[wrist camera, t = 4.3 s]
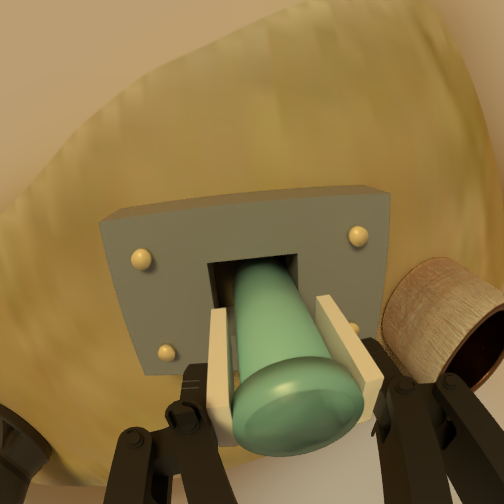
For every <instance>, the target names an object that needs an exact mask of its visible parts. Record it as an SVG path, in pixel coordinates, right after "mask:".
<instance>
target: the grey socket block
mask: <svg viewBox="0 0 504 504" xmlns="http://www.w3.org/2000/svg"><path fill="white" fill-rule="evenodd" d="M389 222H390V193H388V192H384V191H381V190H378V189H374V188H371V187H368V186H364V185H355V186H331V187H312V188H297V189H283V190H270V191H258V192H248V193H237V194H228V195H218V196H209V197H201V198H193V199H185V200H177V201H170V202H163V203H156V204H149V205H143V206H136V207H130V208H124V209H120V210H118V211H116V212H115V213H113V214H111V215H110V216H108V217H106V218H105V219H103V220H101V221H100V222H99V227H100V232H101V236H102V241H103V245H104V249H105V254H106V258H107V262H108V266H109V270H110V273H111V277H112V281H113V284H114V288H115V291H116V295H117V298H118V301H119V304H120V308H121V311H122V314H123V317H124V320H125V323H126V326H127V329H128V332H129V335H130V337H131V340H132V343H133V346H134V348H135V351H136V354H137V356H138V359H139V361H140V364H141V366H142V369H143V371H144V374H145V375H183V374H184V371H185V369H186V368H187V367H188V365H189V364H196V363H208V355H209V337H210V321H211V309H219V308H226V312H227V319H228V325H229V332H230V338H231V345H232V356H233V371H239V366H238V353H237V340H236V327H235V312H234V306H228V307H220V306H219V299H218V293H217V286H216V279H215V273H214V266H213V262H221V261H231V260H240V259H249V258H258V257H268V256H277V255H286V268H287V270H288V272H289V274H290V276H291V278H292V280H293V282H294V284H295V285H296V287H297V289H298V291H299V293H300V295H301V297H302V299H303V301H304V303H305V305H306V307H307V309H308V311H309V313H310V315H311V317H312V319H313V321H314V323H315V316H316V296H323V295H330V296H331V298H332V299H333V300H334V302H335V303H336V305H337V306H338V308H339V309H340V311H341V312H342V314H343V315H344V317H345V318H346V319H347V321H348V322H349V324H350V325H351V327H352V328H353V330H354V331H355V333H356V334H357V336H358V337H359V339H364V338H369V337H372V338H373V339H375V340H376V334H377V329H378V323H379V317H380V311H381V304H382V297H383V290H384V282H385V273H386V263H387V252H388V239H389Z"/></svg>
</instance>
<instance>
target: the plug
mask: <svg viewBox="0 0 504 504" xmlns="http://www.w3.org/2000/svg"><path fill="white" fill-rule="evenodd" d="M233 298H234V312H235V327H236V340H237V353H238V366H239V378H240V386H239V387H238V388H237V389H236V391H235V393H234V395H233V398H232V402H231V405H232V430H233V436H234V438H235V440H236V441H237V443H238V444H239V445H240V446H241V447H243V448H244V449H246V450H248V451H250V452H253V453H255V454H259V455H264V456H272V457H285V456H286V457H287V456H295V455H301V454H306V453H309V452H313V451H315V450H318V449H321V448H323V447H326V446H328V445H329V444H331V443H333V442H335V441H337V440H338V439H340V438H341V437H343V436H344V435H345V434H347V432H349V431H350V430H351V429H352V428H353V427H354V426H355V425H356V423H357V422H358V421H359V419H360V417H361V416H362V413H363V410H364V398H363V396H362V394H361V392H360V390H359V388H358V386H357V384H356V382H355V380H354V378H353V376H352V375H351V373H350V371H349V370H348V369H347V368H346V367H345V366H344V365H343V364H341V363H339V362H338V361H336V360H332V358H331V356H330V353H329V351H328V349H327V347H326V345H325V343H324V341H323V339H322V337H321V335H320V333H319V331H318V329H317V327H316V325H315V323H314V321H313V319H312V317H311V315H310V313H309V311H308V309H307V307H306V305H305V303H304V301H303V299H302V297H301V295H300V293H299V291H298V289H297V287H296V285H295V284H294V282H293V280H292V278H291V276H290V274H289V272H288V270H287V268H286V267H285V265H284V264H283V263H282V262H281V261H279V260H278V259H276V258H274V257H271V256H268V257H258V258H249V259H247V260H246V261H244V262H243V263H242V264H241V265H240V266H239V267H238V268H237V270H236V271H235V274H234V276H233Z"/></svg>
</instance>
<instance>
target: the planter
mask: <svg viewBox="0 0 504 504" xmlns="http://www.w3.org/2000/svg"><path fill="white" fill-rule="evenodd" d="M382 331H383V336H384V339H385V341H386V343H387V345H388V346H389V348H390V349H391V350H392V352H393V353H394V354H395V355H396V357H397V358H398V359H399V361H400V362H401V363H402V365H403V366H404V367H405V368H406V370H407V371H408V372H409V374H410V375H411V376H412V378H413V379H414V380H415V381H416V382H417V383H421V384H422V383H434V382H436V380H437V378H438V376H439V375H441V374H443V373H454V374H456V375H458V376H459V377H460V378H461V379H462V380H463V381H464V382H465V383H466V385H467V386H468V387H469V388H470V389H471V391H472V392H473V393H474V392H475V391H476V390H477V389H478V388H479V387H480V386H482V385H483V384H484V383H485V382H486V381H487V380H488V379H489V377H490V376H491V375H492V374H493V373H494V371H495V370H496V369H497V367H498V366H499V365H500V363H501V362H502V360H503V359H504V294H503V293H502V292H500V291H499V290H497V289H496V288H495V287H493V286H492V285H490V284H489V283H487V282H486V281H484V280H483V279H481V278H480V277H479V276H477V275H476V274H474V273H473V272H471V271H470V270H468V269H467V268H465V267H463V266H462V265H460V264H459V263H457V262H455V261H454V260H451V259H448V258H445V257H436V258H432V259H429V260H427V261H424V262H423V263H421V264H419V265H418V266H416V267H415V268H414V269H413V270H411V271H410V272H409V273H408V274H407V275H406V276H405V277H404V278H403V279H402V281H401V282H400V283H399V284H398V286H397V287H396V289H395V290H394V292H393V293H392V295H391V297H390V299H389V301H388V303H387V306H386V309H385V312H384V316H383V321H382Z"/></svg>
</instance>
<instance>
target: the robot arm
mask: <svg viewBox="0 0 504 504" xmlns="http://www.w3.org/2000/svg"><path fill="white" fill-rule="evenodd" d="M315 325H316V327H317V329H318V331H319V333H320V335H321V337H322V339H323V341H324V343H325V345H326V347H327V349H328V351H329V353H330V356H331V358H332V360H336V361H338V362H339V363H341V364H343V365H344V366H345V367H346V368H347V369H348V370H349V371H350V373H351V375H352V376H353V378H354V380H355V382H356V384H357V386H358V388H359V390H360V392H361V394H362V396H363V398H364V410H363V413H362V416H361V417H360V419H359V421H358V422H357V423H356V424H359V423H362V422H366V421H369V420H370V419H371V417H372V414H373V413H374V415H375V416H376V419H377V420H376V422H375V425H374V427H373V430H372V432H371V436H374V434H375V432H376V437H377V444H378V450H379V458H380V465H381V474H382V483H383V493H384V503H385V504H453V502H452V497H451V493H450V487H449V483H448V479H447V476H448V478H449V479H450V481H451V483H452V485H453V487H454V489H455V490H456V492H457V494H458V496H459V498H460V500H461V502H462V503H463V504H504V431H503V430H502V429H501V427H500V426H499V425H498V423H497V422H496V421H495V419H494V418H493V417H492V415H491V414H490V413H489V412H488V410H487V409H486V408H485V407H484V405H483V404H482V403H481V402H480V400H479V399H478V398H477V397H476V396H475V394H474V393H473V392H472V391H471V389H470V388H469V387H468V386H467V385H466V383H465V382H464V381H463V380H462V379H461V378H460V377H459V376H458V375H456V374H454V373H443V374H441V375H439V376H438V378H437V380H436V382H434V383H422V384H421V383H417V382H416V381H415V380H414V379H412V378H410V377H407V376H403V375H402V373H401V372H400V371H399V369H398V368H397V366H396V365H395V364H394V362H393V361H392V359H391V358H390V357H389V356H388V354H387V352H386V351H384V348H383V347H382V346H381V344H380V343H379V342H378V341H376V340H375V339H373V338H372V337H369V338H364V339H359V337H358V336H357V334H356V333H355V331H354V330H353V328H352V327H351V325H350V324H349V322H348V321H347V319H346V318H345V317H344V315H343V314H342V312H341V311H340V309H339V308H338V306H337V305H336V303H335V302H334V300H333V299H332V298H331V296H330V295H323V296H316V316H315ZM234 393H235V390H234V373H233V356H232V345H231V338H230V332H229V325H228V319H227V312H226V308H219V309H211V321H210V337H209V355H208V363H196V364H189V365H188V367H187V368H186V369H185V371H184V374H183V382H182V389H181V395H180V400H178V401H175V402H173V403H172V404H171V405H169V406H168V408H167V409H166V411H165V418H166V420H167V422H168V424H169V427H167V428H164V429H162V430H157V431H153V432H149V431H147V430H146V429H144V428H141V427H131V428H128V429H126V430H125V431H123V432H122V433H121V434H120V436H119V438H118V442H117V446H116V450H115V454H114V458H113V462H112V466H111V470H110V474H109V479H108V483H107V489H106V493H105V497H104V503H103V504H171V494H172V480H173V475H176V474H180V473H181V477H182V481H183V485H184V489H185V493H186V497H187V500H188V504H238V503H237V501H236V498H235V496H234V493H233V491H232V488H231V486H230V483H229V480H228V478H227V475H226V472H225V469H224V467H223V464H222V461H221V458H220V455H219V453H218V445H219V447H228V446H238V443H237V441H236V440H235V438H234V436H233V430H232V405H231V402H232V398H233V395H234ZM51 454H52V450H51V448H50V446H49V444H48V443H47V442H46V441H45V439H44V438H43V437H42V436H41V435H40V434H39V433H38V432H37V431H36V430H35V429H34V428H32V427H31V426H30V425H29V424H28V423H27V422H25V421H24V420H23V419H22V418H20V417H19V416H18V415H16V414H15V413H13V412H12V411H11V410H9V409H7V408H6V407H4V406H3V405H1V404H0V504H23V503H24V500H25V497H26V493H27V490H28V487H29V484H30V482H31V479H32V478H33V477H34V475H35V474H36V473H37V472H38V471H39V470H40V469H41V468H42V466H43V465H44V464H46V463H47V462H48V461H49V459H50V456H51Z"/></svg>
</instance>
